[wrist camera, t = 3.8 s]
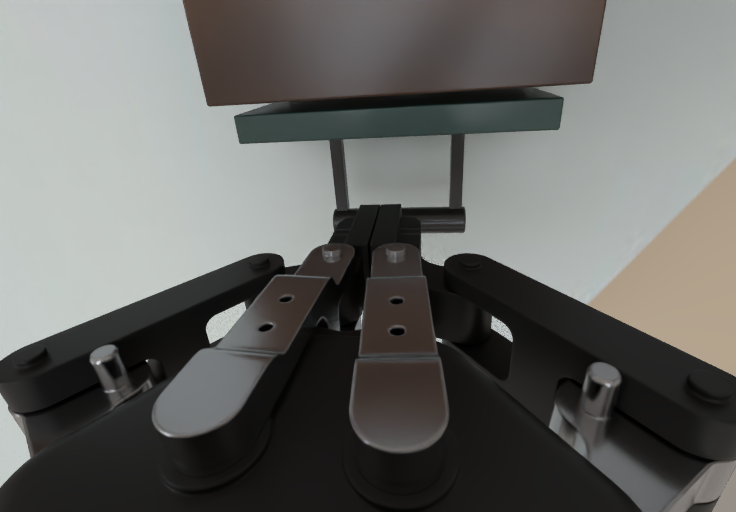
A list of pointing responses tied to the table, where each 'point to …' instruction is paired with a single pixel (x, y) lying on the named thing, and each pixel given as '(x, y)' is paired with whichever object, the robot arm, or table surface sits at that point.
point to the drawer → (404, 132)
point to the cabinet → (388, 46)
